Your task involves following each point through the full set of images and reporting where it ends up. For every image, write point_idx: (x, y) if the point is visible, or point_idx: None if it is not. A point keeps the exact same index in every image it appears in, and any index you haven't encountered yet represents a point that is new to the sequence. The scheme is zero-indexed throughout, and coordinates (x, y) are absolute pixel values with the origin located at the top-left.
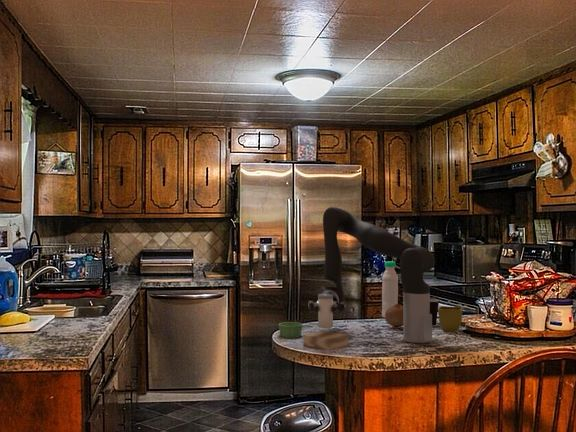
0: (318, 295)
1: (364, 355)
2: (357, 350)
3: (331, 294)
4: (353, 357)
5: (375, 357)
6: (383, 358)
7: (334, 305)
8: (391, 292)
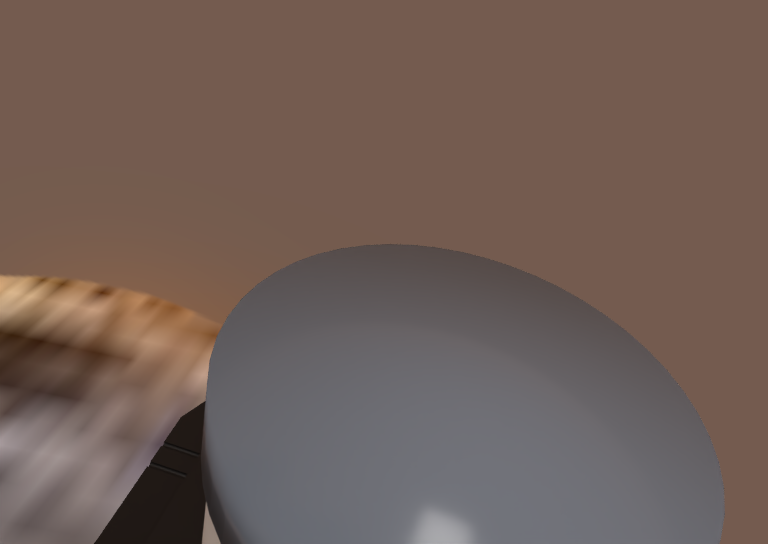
0: (678, 405)
1: (87, 366)
2: (34, 514)
3: (243, 408)
4: (197, 345)
5: (44, 312)
6: (8, 285)
7: (197, 460)
8: None
